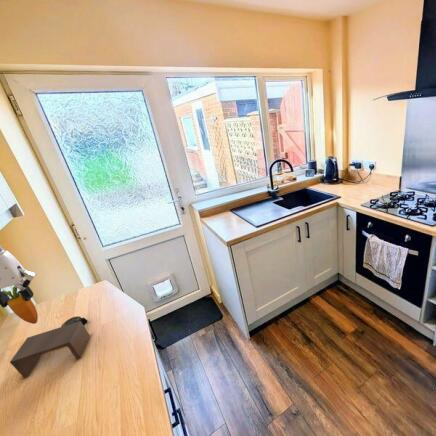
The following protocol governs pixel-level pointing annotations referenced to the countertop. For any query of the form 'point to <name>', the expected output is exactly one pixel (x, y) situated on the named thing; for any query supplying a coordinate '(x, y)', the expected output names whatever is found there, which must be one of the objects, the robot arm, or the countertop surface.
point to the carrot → (22, 306)
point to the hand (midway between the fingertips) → (18, 300)
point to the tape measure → (74, 321)
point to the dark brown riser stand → (50, 345)
